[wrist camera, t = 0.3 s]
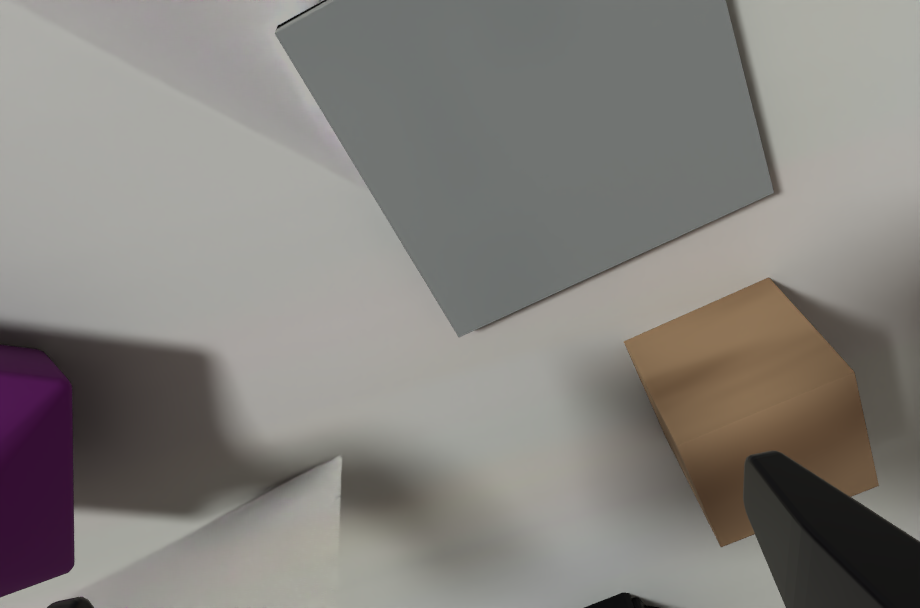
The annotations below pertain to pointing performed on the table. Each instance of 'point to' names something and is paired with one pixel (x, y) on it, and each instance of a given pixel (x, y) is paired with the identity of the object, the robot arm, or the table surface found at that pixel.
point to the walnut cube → (752, 399)
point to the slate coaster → (533, 132)
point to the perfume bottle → (34, 470)
